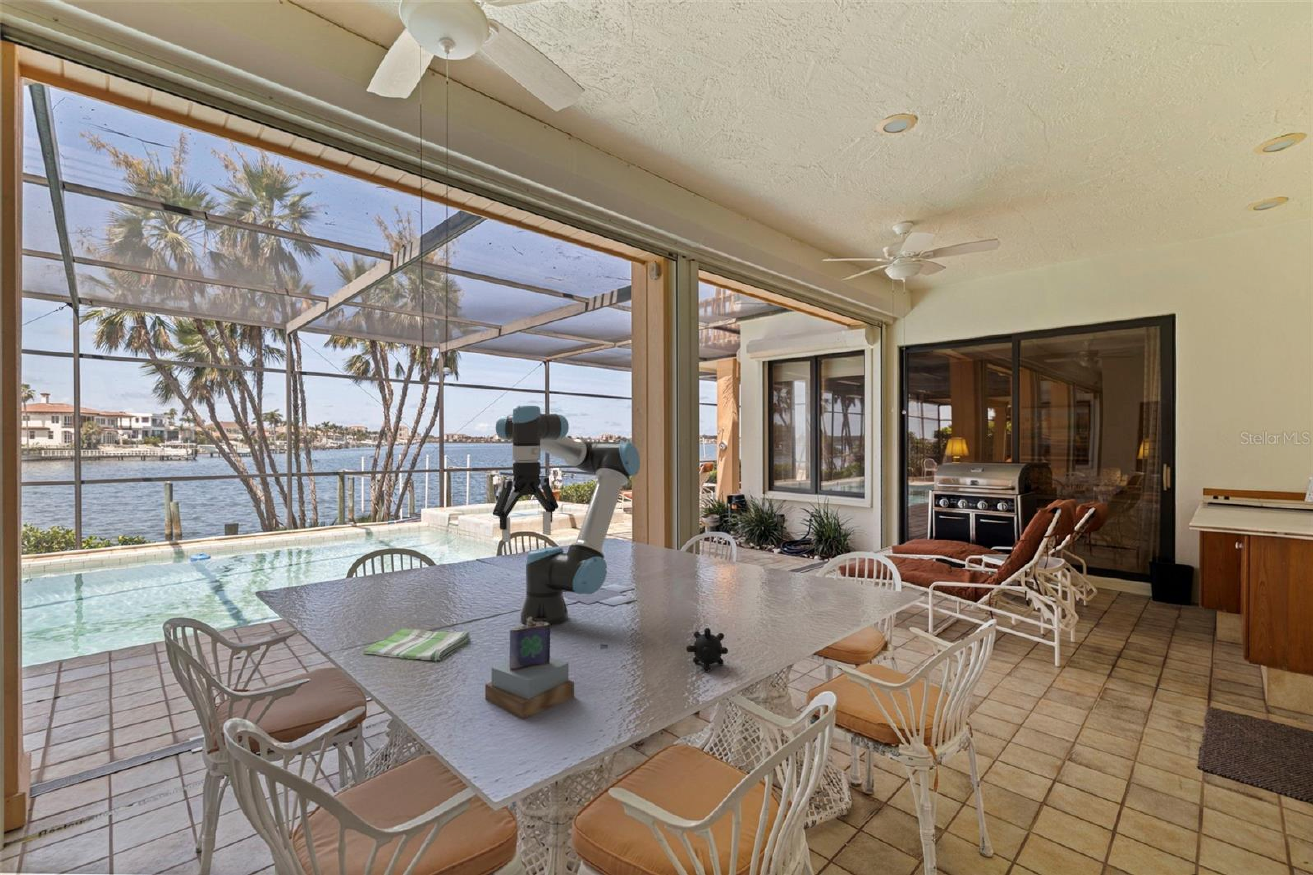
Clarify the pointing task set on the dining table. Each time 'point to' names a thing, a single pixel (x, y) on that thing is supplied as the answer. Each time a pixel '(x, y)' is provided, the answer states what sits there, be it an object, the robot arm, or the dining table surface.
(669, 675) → the dining table surface
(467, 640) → the dish towel
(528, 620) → the flask
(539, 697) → the tower base block
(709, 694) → the dining table surface
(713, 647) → the toy ball
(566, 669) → the tower top block
